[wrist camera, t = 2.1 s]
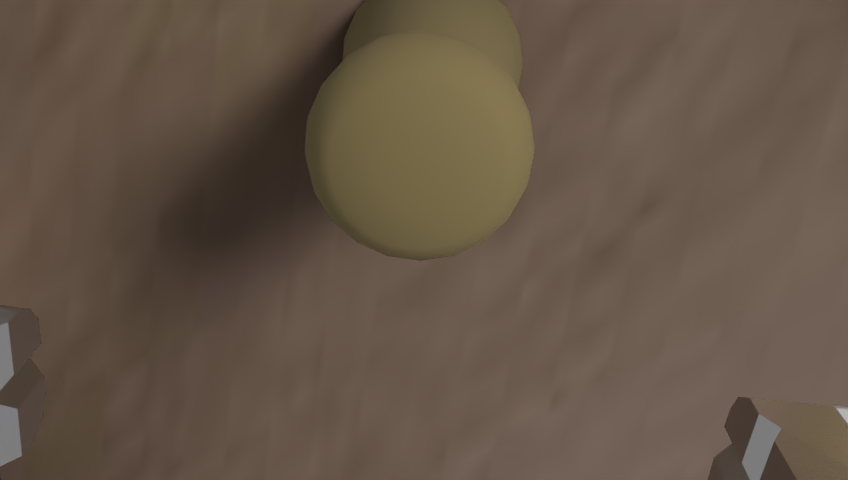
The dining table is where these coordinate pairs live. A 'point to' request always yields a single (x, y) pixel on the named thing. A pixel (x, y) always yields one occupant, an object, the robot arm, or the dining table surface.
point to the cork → (422, 127)
